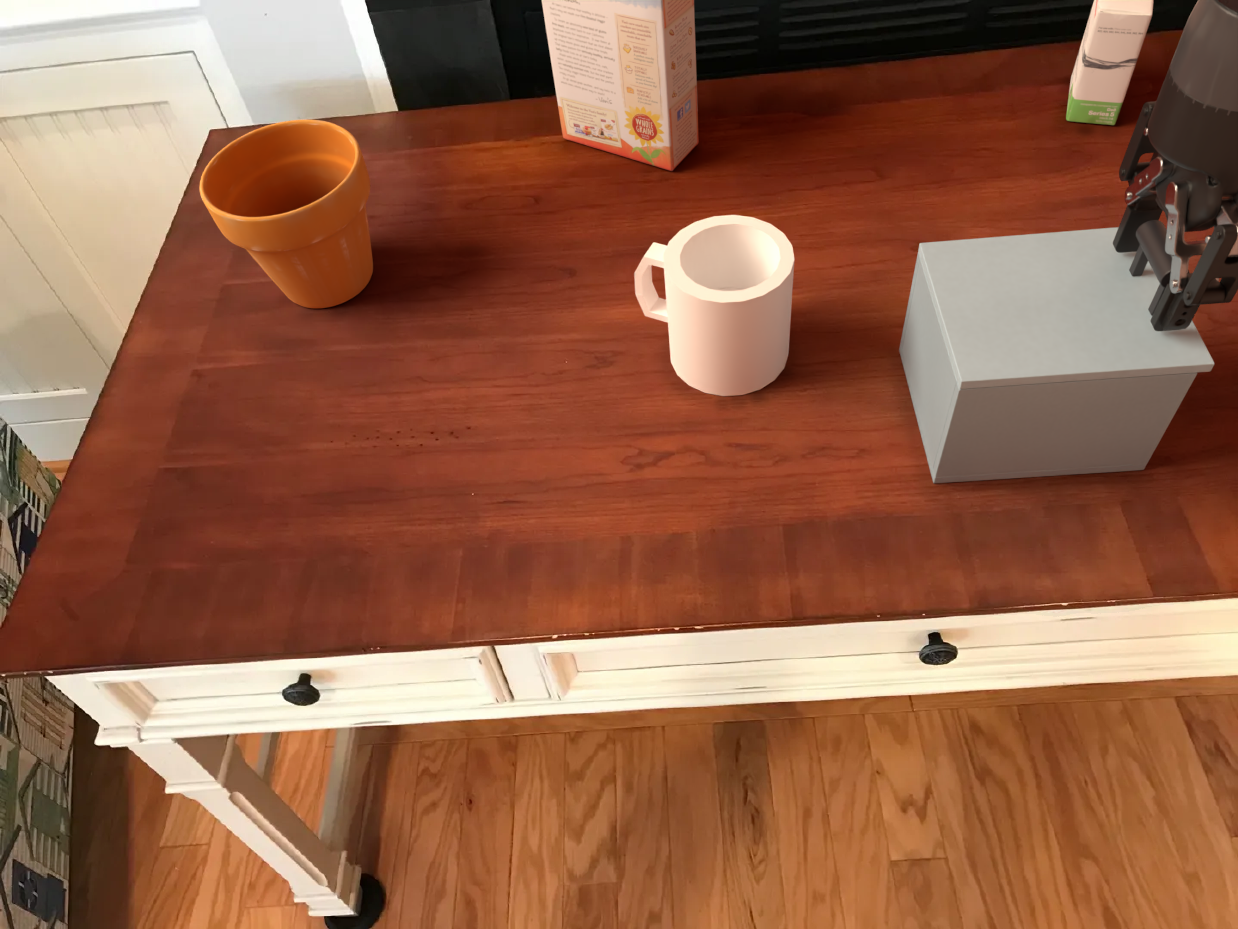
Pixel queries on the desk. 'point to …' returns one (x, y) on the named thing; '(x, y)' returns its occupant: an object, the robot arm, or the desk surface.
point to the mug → (723, 302)
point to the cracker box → (626, 76)
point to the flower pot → (296, 207)
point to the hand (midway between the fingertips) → (1146, 286)
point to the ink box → (1107, 59)
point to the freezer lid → (1057, 308)
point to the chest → (1027, 413)
